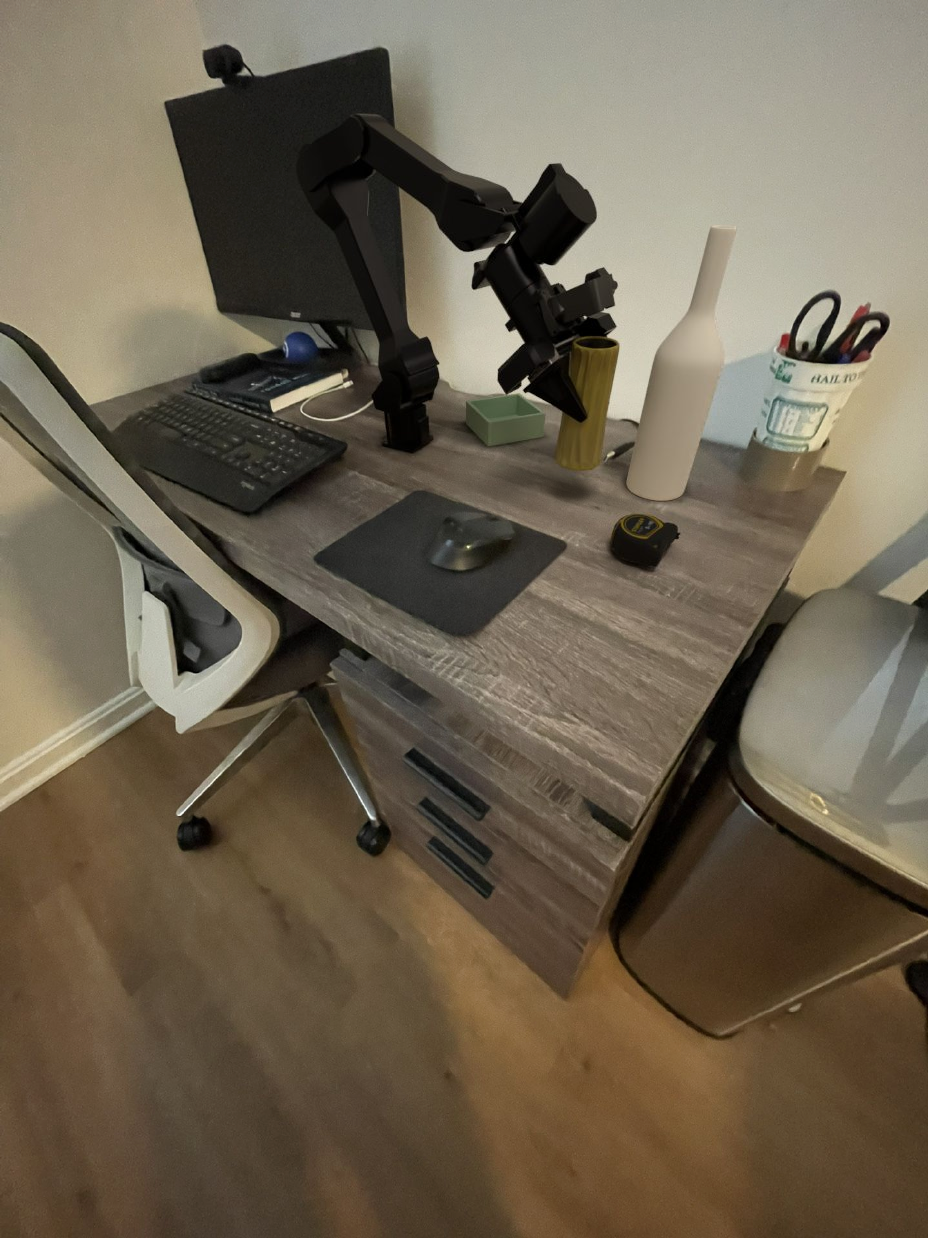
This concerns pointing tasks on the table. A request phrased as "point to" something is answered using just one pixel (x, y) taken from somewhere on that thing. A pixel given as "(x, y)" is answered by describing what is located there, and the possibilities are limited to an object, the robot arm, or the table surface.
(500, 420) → the green open-top tray
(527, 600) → the table surface
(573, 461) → the vase
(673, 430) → the bottle
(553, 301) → the robot arm
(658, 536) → the tape measure
